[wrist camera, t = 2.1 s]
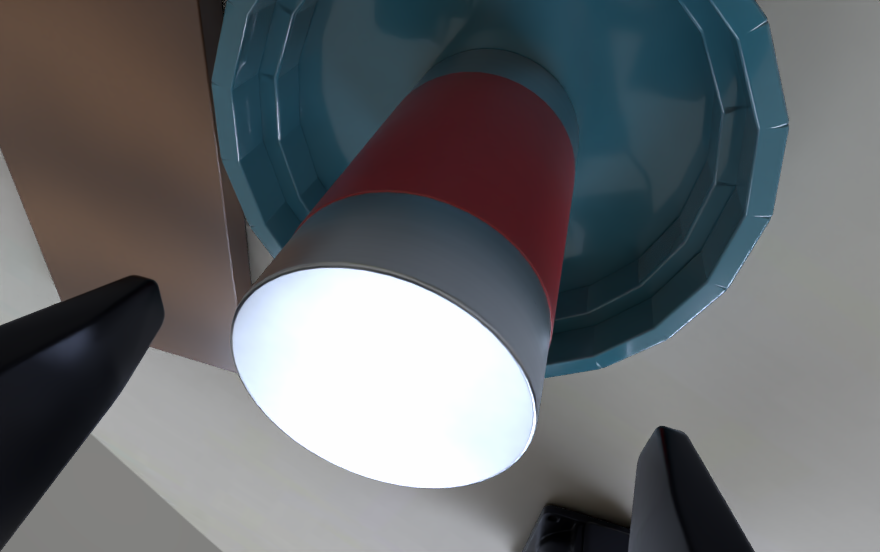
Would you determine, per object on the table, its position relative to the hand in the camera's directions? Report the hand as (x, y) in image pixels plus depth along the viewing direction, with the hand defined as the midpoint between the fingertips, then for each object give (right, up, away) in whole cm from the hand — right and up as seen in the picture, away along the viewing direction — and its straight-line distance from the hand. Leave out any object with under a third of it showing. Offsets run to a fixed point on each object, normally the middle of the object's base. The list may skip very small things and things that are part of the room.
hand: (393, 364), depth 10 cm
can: (+2, +6, +7) cm, 9 cm away
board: (-11, +5, +12) cm, 17 cm away
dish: (+2, +6, +7) cm, 10 cm away
